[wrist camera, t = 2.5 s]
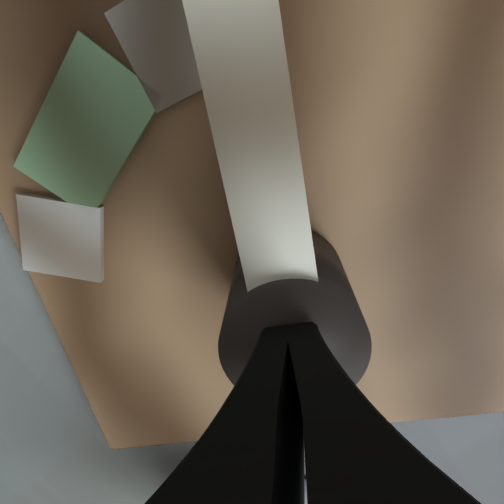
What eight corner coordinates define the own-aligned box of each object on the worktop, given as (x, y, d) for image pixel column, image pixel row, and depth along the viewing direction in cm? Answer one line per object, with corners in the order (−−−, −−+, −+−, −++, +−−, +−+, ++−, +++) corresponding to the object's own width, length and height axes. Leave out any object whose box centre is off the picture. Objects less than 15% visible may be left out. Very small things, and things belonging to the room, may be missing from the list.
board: (609, -231, 9) (660, -280, 8) (535, 390, 16) (556, 413, 15) (-86, -29, 12) (-127, -44, 10) (118, 432, 19) (108, 454, 18)
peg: (347, 315, 14) (378, 407, 10) (245, 328, 15) (234, 422, 10) (292, -167, 9) (309, -403, 5) (139, -122, 10) (32, -298, 5)
